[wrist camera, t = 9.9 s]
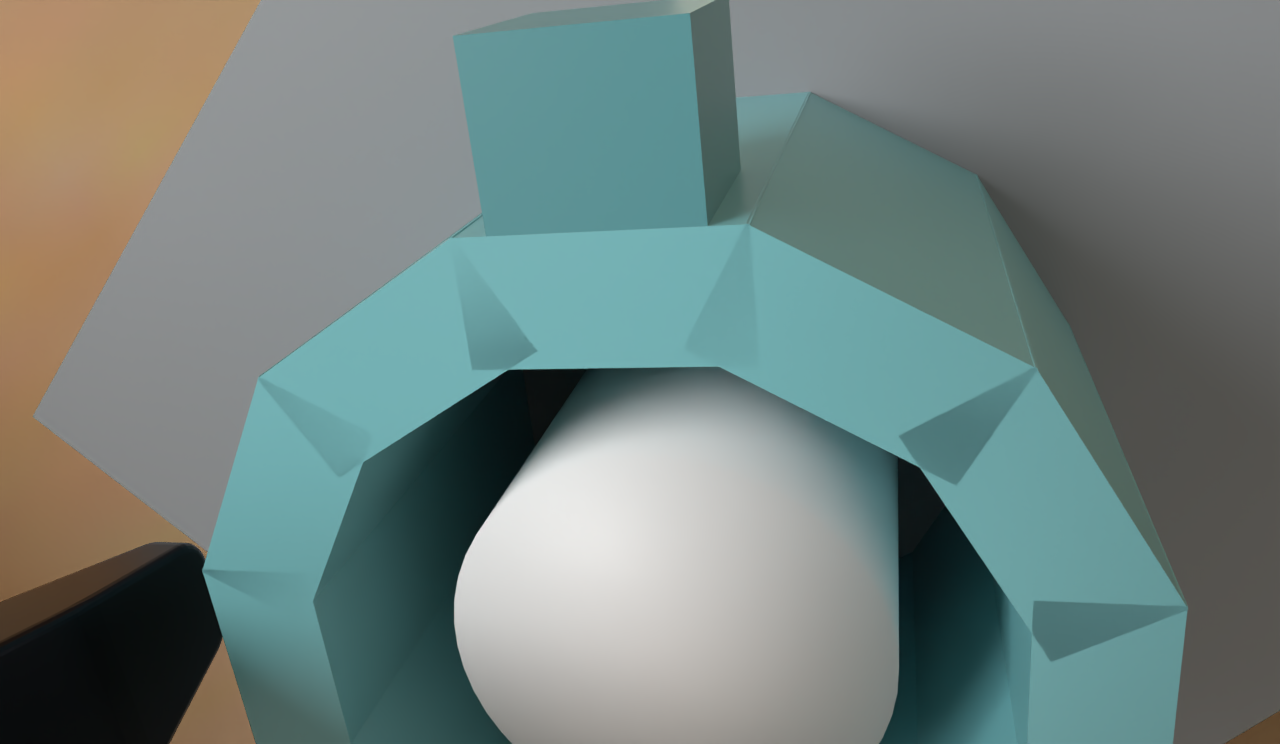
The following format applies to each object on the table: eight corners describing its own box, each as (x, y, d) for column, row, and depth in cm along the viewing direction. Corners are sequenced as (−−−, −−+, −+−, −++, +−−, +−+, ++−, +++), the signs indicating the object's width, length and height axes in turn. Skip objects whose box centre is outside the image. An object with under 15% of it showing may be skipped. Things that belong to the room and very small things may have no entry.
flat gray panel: (799, 917, 17) (755, 1371, 12) (105, 373, 16) (-297, 610, 11) (1690, 340, 11) (2433, 741, 6) (682, -622, 10) (426, -1268, 4)
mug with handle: (1050, 670, 13) (1136, 1085, 8) (503, 641, 14) (326, 971, 10) (1089, -66, 10) (1260, -42, 5) (384, 8, 11) (47, 74, 7)
